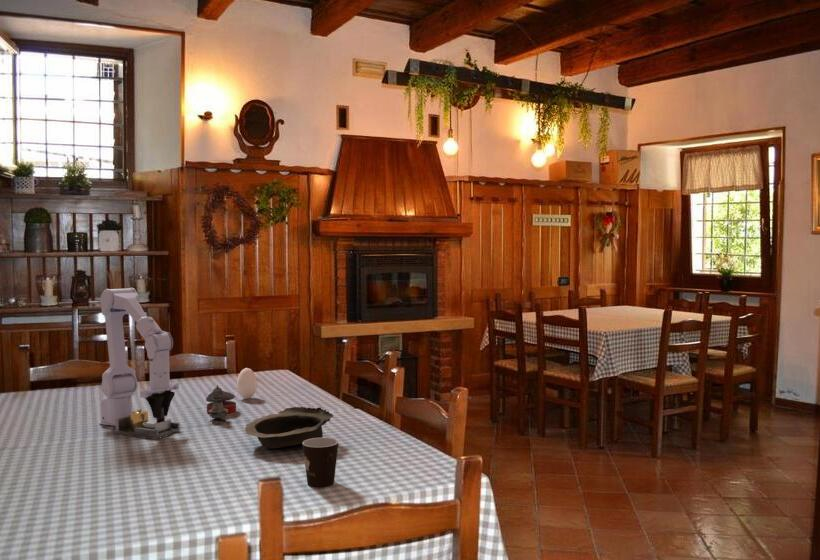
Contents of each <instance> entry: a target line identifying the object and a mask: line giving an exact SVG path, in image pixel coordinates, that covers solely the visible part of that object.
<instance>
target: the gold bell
mask: <svg viewBox="0 0 820 560" xmlns="http://www.w3.org/2000/svg"><path fill="white" fill-rule="evenodd" d="M148 411H149V410H142V408H137V409H136V410H134V411H133V410H132V412H131V429H132V430H135V428H136V427H139V428H145V423H146V422H149V412H148Z"/></svg>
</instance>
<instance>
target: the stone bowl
mask: <svg viewBox="0 0 820 560" xmlns="http://www.w3.org/2000/svg"><path fill="white" fill-rule="evenodd" d="M331 418H334V414H332V413H330V412H329V411H327V410H326V409H323V408H322V407H316V408H315V407H314V408H313V407H309V406H308V407H303V406H293V407H287V408H285V409H284V410H281V411H279V412H278V413H271V414H267V415H265V416H262V417H259V418H256V419H254V420H252V421H250V422H249V423H247V424H246V425H245V428H244V432H245V433H246V434H247V435H249V436H252V437H256V438H257V440H258V441H259V443H260V444H261V446H262V447H263V448H264V449H266V450H270V449H280V448H284V447H289V446H296V445H300V444H302V443H303V441H305V440H308V439H312V438H324V437H323V436H324V435H323V434H324V433H323V425H326V424H327V423H328V422H330V421H331Z"/></svg>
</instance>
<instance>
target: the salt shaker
mask: <svg viewBox="0 0 820 560" xmlns="http://www.w3.org/2000/svg"><path fill="white" fill-rule="evenodd" d="M222 391H223V389H222V388H221V387H219V385H218V384H217V385H216V387H215V388H214V389H213V391H212V392H213V399H212V400H213V408H212V409H211V410H209V412H210V415H209V416H210V417H211V418H212V419H210V420H209V423H211V422H212V424H221V423H220V422H222V423H225V422H226V421H227V419H226V418H224V417H225V416H226V415H225V414H226V411H227V409H224V408H223V405H222V400H223V398H222Z"/></svg>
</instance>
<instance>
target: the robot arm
mask: <svg viewBox="0 0 820 560" xmlns="http://www.w3.org/2000/svg"><path fill="white" fill-rule="evenodd" d="M139 298H140V297H139V294H138V292H137V290H136V289H135V288H134V287H129V288H105V289H104V290H103V291H102V293H101V295H100V308H101V309H100V310H101V315H103V316H104V319H105V329H106V340H107V347H108V348H107V350H108V360H109V367H108V368H107V369H106V370H105V371H104V372H103V373H102V375H101V378H102V380H101V385H100V386H101V392H102V394H103V395H104V397H102V399H101V400H100V407H99V408H100V410H99V411H100V421H99V422H98V425H105V426H106V425H107V426H114V427H116V421H115V419H119V418H122V417H126V416H129V415H131V412H133V396H134V395H135V392H137V389H138V385H139V384H138V379H137V375H136V372H135V369H134V368H132V367H130V366H129V365H128V363H127V354H126V353H127V351H126V343H125V332H124V321H123V317H124V316H125V314H128V315H129V316H130V317H131V318H132V319H133V320H134V321H135V323H136V324H135V329H136V330H137V332H138V333H139V334H140V336H141V337H142V338H143V340H144V341H145V343H144V346H145V350H146V353H147V359H148V360H149V387H147V388H145V389H142V390H139V398H143V399H145V400H146V402H147V403H148V405H149V407H150V409H151V413H152V417H153V419H154V418H155V419H156V418H160V417H161V406H164V407H165V417H168V414H169V409H170V407H171V402H172V401H173V398H174V397H175V395H176V394H175V391H174V390H179V387H180V386H179V385H180V383H179V382H170V381H171V380H170V378H171V377H170V351H172V349H173V346H174V339H173V337H172V335H171V333H170V332H168V331H165V330H162V328H161V326H159V324H158V323H157V322H156V320H155V319H154V318H153V317H151V316H147V314H146V313H145V311H144V309H143V308H142V306H141V304H140V302H139V300H140V299H139Z"/></svg>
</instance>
